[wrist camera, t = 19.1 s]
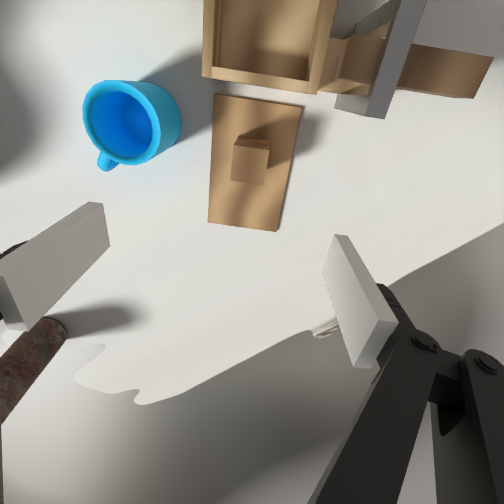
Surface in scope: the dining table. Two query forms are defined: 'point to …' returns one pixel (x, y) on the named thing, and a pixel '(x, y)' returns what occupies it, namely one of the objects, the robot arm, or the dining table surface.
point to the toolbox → (274, 45)
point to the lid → (250, 161)
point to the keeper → (385, 55)
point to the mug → (130, 121)
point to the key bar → (416, 68)
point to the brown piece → (27, 361)
